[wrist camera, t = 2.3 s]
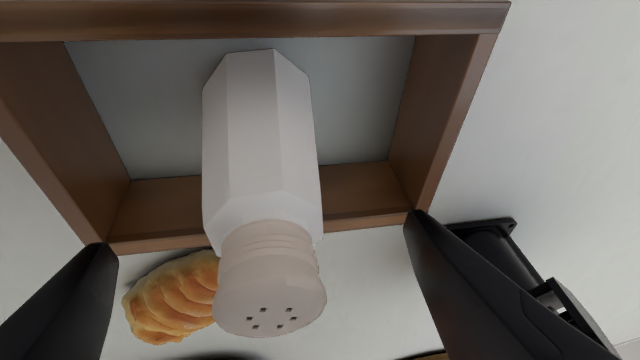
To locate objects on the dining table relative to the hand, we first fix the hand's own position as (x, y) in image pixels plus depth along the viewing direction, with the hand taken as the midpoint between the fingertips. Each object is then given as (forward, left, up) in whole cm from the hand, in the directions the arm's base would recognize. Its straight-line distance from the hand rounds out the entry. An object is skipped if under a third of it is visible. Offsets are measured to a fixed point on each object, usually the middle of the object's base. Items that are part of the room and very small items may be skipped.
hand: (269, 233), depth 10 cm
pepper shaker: (0, 0, -8) cm, 9 cm away
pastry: (+7, +15, -8) cm, 19 cm away
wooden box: (0, 0, -8) cm, 8 cm away
